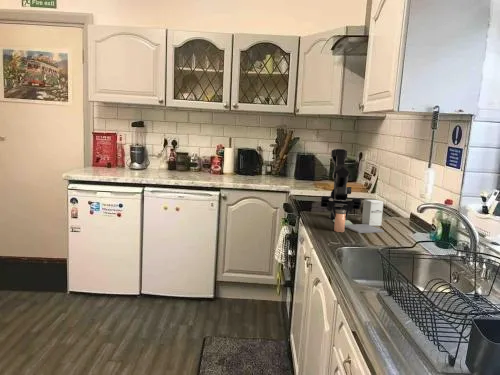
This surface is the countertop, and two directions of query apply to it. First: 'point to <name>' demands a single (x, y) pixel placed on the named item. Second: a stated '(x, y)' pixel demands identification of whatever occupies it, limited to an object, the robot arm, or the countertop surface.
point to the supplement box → (372, 212)
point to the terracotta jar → (340, 220)
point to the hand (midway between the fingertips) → (340, 217)
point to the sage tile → (346, 222)
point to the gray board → (363, 228)
